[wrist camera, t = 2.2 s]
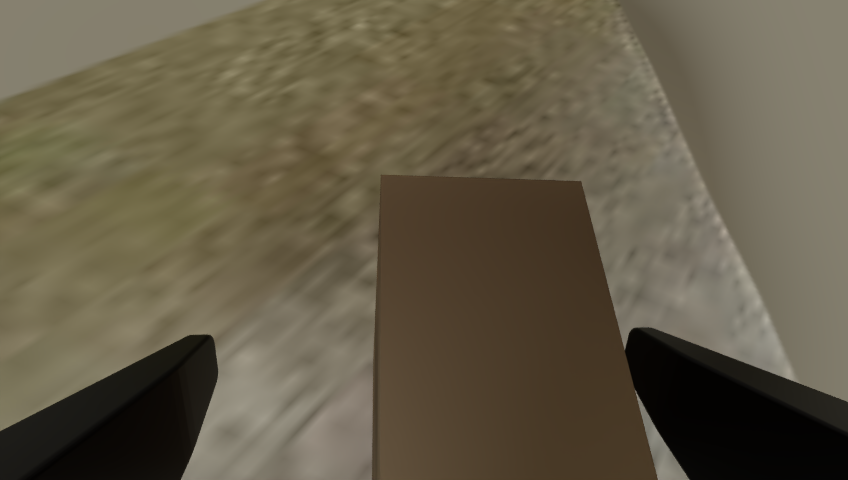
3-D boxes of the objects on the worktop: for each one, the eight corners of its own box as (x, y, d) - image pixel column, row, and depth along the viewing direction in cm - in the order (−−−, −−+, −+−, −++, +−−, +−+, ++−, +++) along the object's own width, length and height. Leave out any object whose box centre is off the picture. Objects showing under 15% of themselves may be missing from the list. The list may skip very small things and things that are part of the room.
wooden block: (445, 478, 14) (684, 585, 3) (372, 482, 14) (379, 617, 3) (438, 358, 16) (580, 181, 5) (373, 360, 15) (381, 174, 5)
